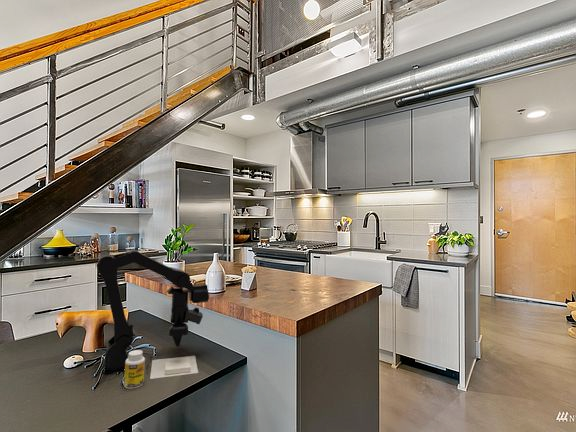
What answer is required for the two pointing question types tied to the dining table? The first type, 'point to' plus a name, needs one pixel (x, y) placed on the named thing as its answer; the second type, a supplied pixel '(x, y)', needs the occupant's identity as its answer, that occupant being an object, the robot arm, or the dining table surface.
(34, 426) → the dining table surface
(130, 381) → the supplement bottle
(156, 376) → the mat
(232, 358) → the dining table surface
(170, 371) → the tile
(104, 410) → the dining table surface
